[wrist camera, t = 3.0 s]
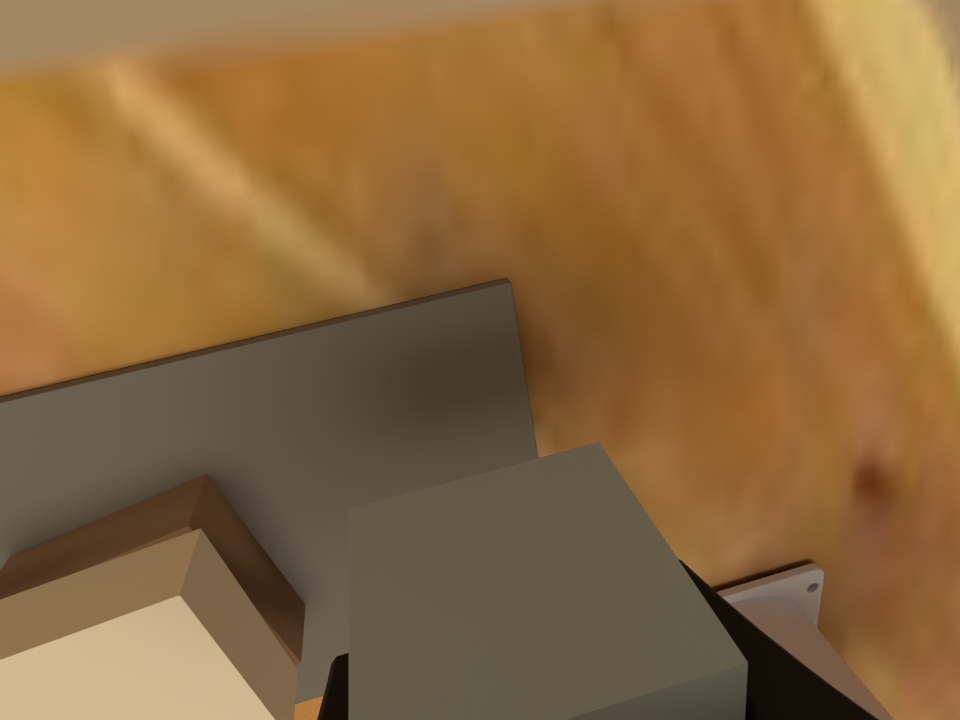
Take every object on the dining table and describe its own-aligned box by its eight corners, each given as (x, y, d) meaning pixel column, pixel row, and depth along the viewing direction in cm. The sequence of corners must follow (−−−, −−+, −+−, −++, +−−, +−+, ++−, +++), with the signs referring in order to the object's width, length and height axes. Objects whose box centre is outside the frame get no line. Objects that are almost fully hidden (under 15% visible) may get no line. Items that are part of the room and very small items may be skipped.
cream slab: (297, 669, 18) (292, 741, 16) (103, 741, 18) (73, 824, 16) (200, 528, 15) (179, 595, 13) (-32, 611, 15) (-89, 691, 13)
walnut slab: (305, 604, 20) (301, 662, 18) (137, 676, 20) (114, 742, 18) (206, 473, 17) (188, 525, 15) (9, 556, 17) (-35, 619, 15)
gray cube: (615, 614, 13) (738, 862, 9) (408, 676, 12) (436, 966, 8) (598, 442, 11) (748, 663, 7) (348, 508, 10) (348, 787, 6)
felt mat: (560, 615, 23) (563, 623, 23) (81, 757, 21) (76, 769, 21) (507, 278, 17) (510, 282, 16) (-186, 440, 15) (-198, 449, 15)
